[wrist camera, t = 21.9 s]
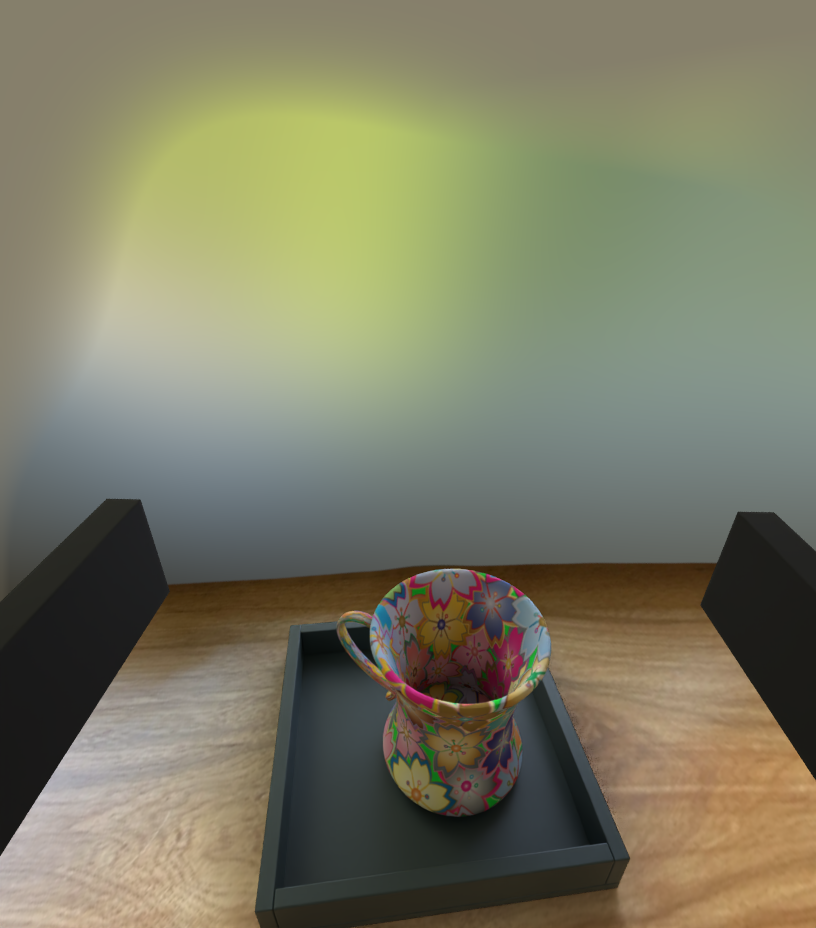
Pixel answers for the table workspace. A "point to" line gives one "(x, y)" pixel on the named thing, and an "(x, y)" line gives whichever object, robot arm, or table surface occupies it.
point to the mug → (453, 684)
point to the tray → (414, 809)
